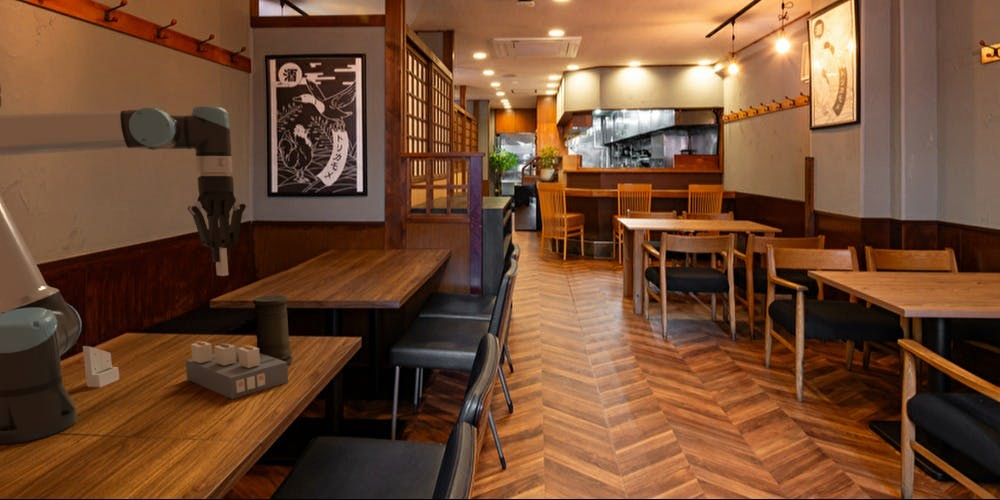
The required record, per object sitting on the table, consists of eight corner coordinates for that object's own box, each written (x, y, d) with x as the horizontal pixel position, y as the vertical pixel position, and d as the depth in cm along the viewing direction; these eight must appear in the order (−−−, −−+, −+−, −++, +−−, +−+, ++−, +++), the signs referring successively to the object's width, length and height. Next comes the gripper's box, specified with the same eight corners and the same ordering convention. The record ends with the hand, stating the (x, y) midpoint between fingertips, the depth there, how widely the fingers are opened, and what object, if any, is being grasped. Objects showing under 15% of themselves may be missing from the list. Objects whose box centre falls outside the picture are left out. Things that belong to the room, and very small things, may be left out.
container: (297, 359, 164) (294, 294, 162) (283, 369, 156) (278, 301, 153) (266, 358, 165) (262, 294, 163) (249, 369, 156) (245, 301, 154)
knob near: (248, 368, 140) (246, 349, 140) (239, 364, 143) (238, 346, 142) (260, 364, 143) (259, 346, 142) (251, 361, 145) (250, 343, 145)
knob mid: (223, 365, 142) (222, 347, 142) (215, 362, 145) (214, 344, 144) (236, 362, 145) (234, 344, 144) (227, 359, 147) (226, 341, 147)
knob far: (200, 363, 144) (198, 344, 144) (192, 360, 147) (190, 342, 146) (212, 360, 147) (211, 342, 146) (204, 357, 149) (203, 339, 149)
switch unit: (233, 399, 135) (231, 378, 134) (187, 379, 149) (185, 359, 148) (289, 382, 146) (288, 362, 145) (241, 365, 160) (240, 346, 159)
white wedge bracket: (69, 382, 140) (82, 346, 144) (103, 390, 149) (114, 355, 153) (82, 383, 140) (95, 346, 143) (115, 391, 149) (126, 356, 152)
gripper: (194, 175, 133) (202, 280, 136) (250, 174, 143) (256, 272, 146) (179, 175, 138) (187, 277, 141) (234, 174, 148) (240, 270, 151)
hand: (222, 275), depth 143 cm, fingers closed
